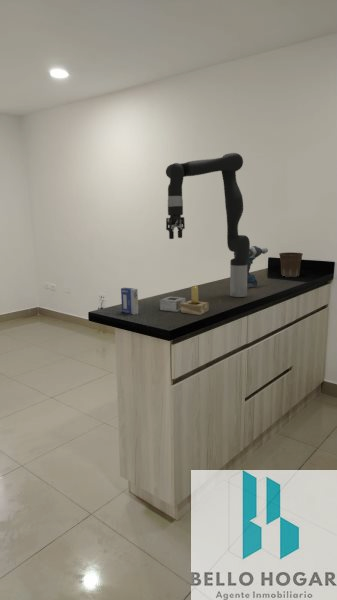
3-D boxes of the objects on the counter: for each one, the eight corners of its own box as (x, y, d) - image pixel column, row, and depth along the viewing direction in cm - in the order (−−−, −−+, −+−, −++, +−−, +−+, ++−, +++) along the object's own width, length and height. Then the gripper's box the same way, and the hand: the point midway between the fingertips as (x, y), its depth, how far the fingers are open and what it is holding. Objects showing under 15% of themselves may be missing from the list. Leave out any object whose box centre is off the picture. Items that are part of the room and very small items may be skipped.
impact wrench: (269, 286, 255) (270, 245, 250) (237, 289, 247) (238, 247, 242) (262, 284, 262) (263, 244, 257) (231, 287, 254) (231, 246, 249)
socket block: (169, 306, 207) (169, 296, 205) (185, 307, 202) (185, 298, 201) (160, 309, 199) (160, 299, 198) (176, 311, 194) (176, 301, 193)
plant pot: (293, 278, 282) (294, 255, 278) (273, 276, 294) (274, 253, 290) (306, 276, 292) (307, 253, 289) (286, 273, 304) (287, 252, 301)
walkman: (121, 312, 195) (120, 287, 193) (125, 311, 198) (124, 286, 195) (134, 314, 191) (133, 289, 189) (138, 313, 193) (137, 288, 191)
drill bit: (193, 310, 196) (193, 285, 194) (199, 311, 195) (199, 286, 192) (190, 311, 194) (190, 286, 191) (196, 312, 192) (196, 287, 190)
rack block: (190, 308, 201) (190, 300, 200) (208, 310, 195) (208, 302, 195) (180, 312, 193) (180, 304, 192) (199, 314, 188) (199, 306, 187)
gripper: (176, 205, 213) (176, 237, 216) (161, 205, 201) (162, 239, 204) (188, 205, 209) (189, 237, 212) (174, 205, 197) (175, 239, 201)
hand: (175, 238), depth 208 cm, fingers open, 8 cm apart
